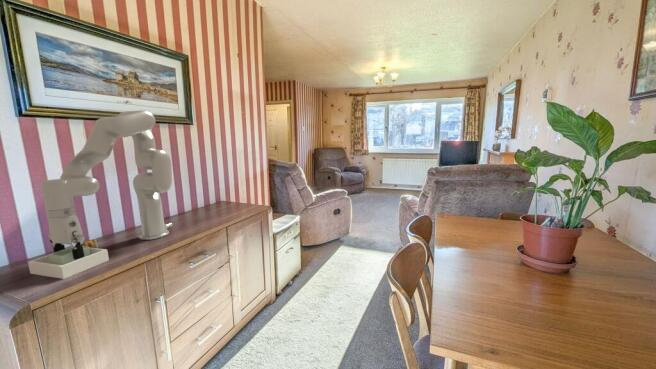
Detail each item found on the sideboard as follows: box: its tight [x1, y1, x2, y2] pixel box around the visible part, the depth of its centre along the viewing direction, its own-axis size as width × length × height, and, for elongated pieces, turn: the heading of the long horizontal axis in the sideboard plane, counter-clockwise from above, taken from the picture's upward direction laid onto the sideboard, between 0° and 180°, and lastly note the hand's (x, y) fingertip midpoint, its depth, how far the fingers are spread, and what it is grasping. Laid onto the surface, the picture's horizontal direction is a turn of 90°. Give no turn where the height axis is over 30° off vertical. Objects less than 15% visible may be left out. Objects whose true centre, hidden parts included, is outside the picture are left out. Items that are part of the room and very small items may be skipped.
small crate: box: [47, 246, 91, 265], centre depth 102 cm, size 9×7×6 cm
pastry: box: [83, 239, 99, 248], centre depth 118 cm, size 9×7×4 cm
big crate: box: [27, 247, 110, 280], centre depth 102 cm, size 15×17×4 cm
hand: (69, 257), depth 101 cm, fingers open, 9 cm apart
